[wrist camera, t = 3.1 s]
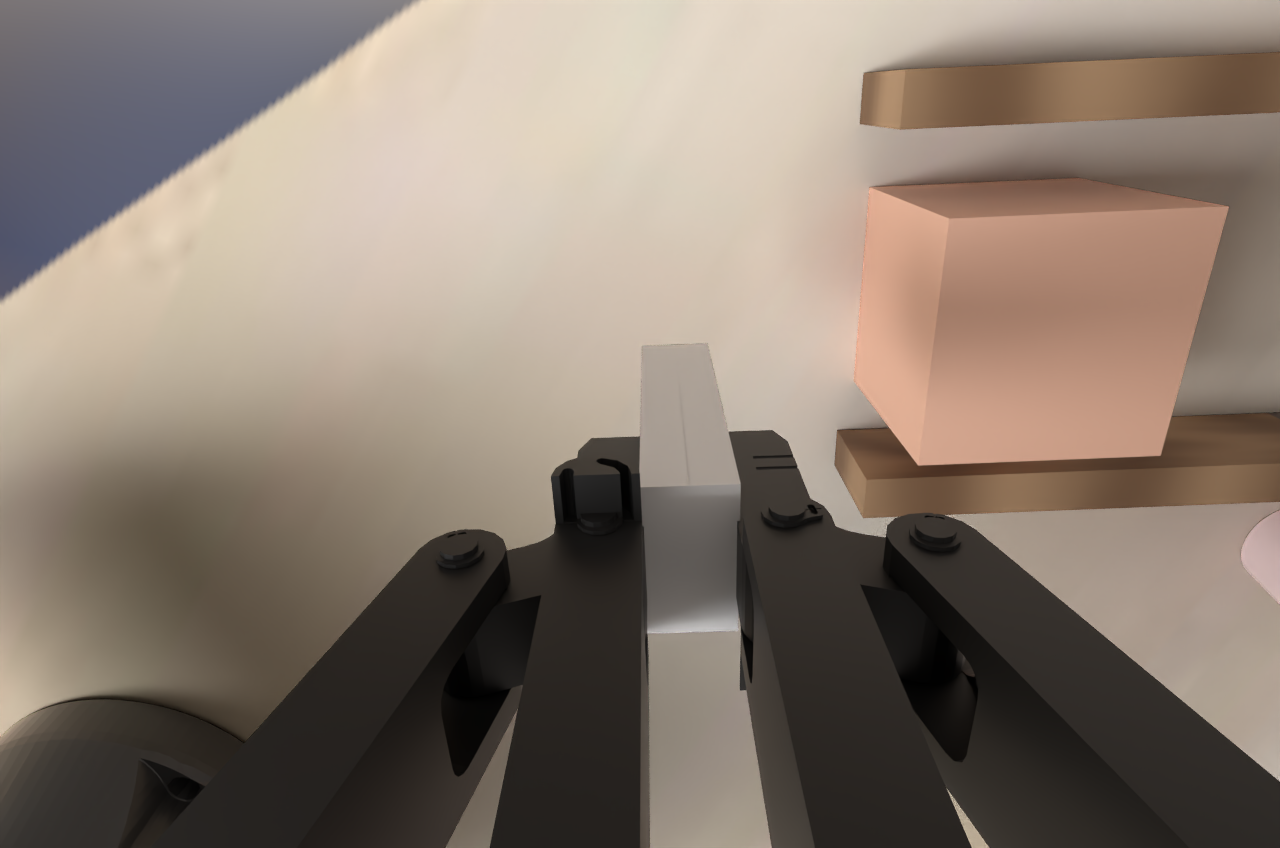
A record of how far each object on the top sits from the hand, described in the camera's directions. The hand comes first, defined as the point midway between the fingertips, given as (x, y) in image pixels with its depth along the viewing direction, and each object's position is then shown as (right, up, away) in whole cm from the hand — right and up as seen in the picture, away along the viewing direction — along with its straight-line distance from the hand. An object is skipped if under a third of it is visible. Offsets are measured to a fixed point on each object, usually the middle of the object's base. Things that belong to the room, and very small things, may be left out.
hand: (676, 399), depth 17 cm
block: (+11, +4, +9) cm, 15 cm away
